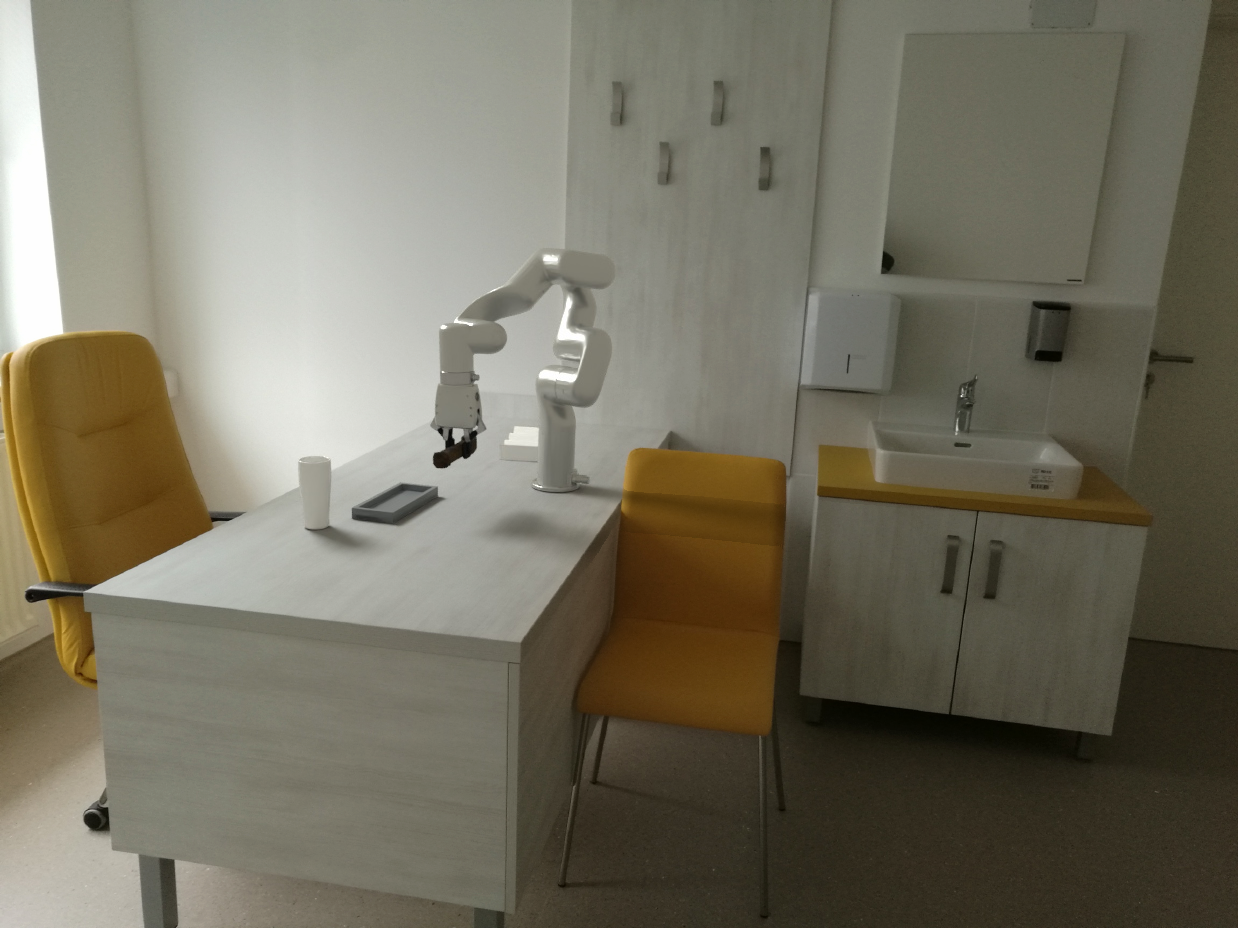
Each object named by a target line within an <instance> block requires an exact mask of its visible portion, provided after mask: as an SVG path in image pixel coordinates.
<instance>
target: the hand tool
mask: <svg viewBox="0 0 1238 928" xmlns="http://www.w3.org/2000/svg"><path fill="white" fill-rule="evenodd" d="M464 439H465V438H464V434H463V435H462V436H461V438H460V441H458V442H455V444H454V445H452V446H450V447H449V448H446V449H445V448H444V449H442V450H440V451H437V452H433V455H432V464H433V466H434V467H435V468H436V469H441V470H442V469H446V468H448V467H450V466H451V465H452V463H454V462H455V461H458V460H459V459H461V458H463V442H465V441H464ZM477 439H478V438H477V436H476V437H475V438H474V439H473V440H472V454H471V455H474V453H475V452H476V451H477V448H478V442H477V441H478V440H477Z"/></svg>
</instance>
